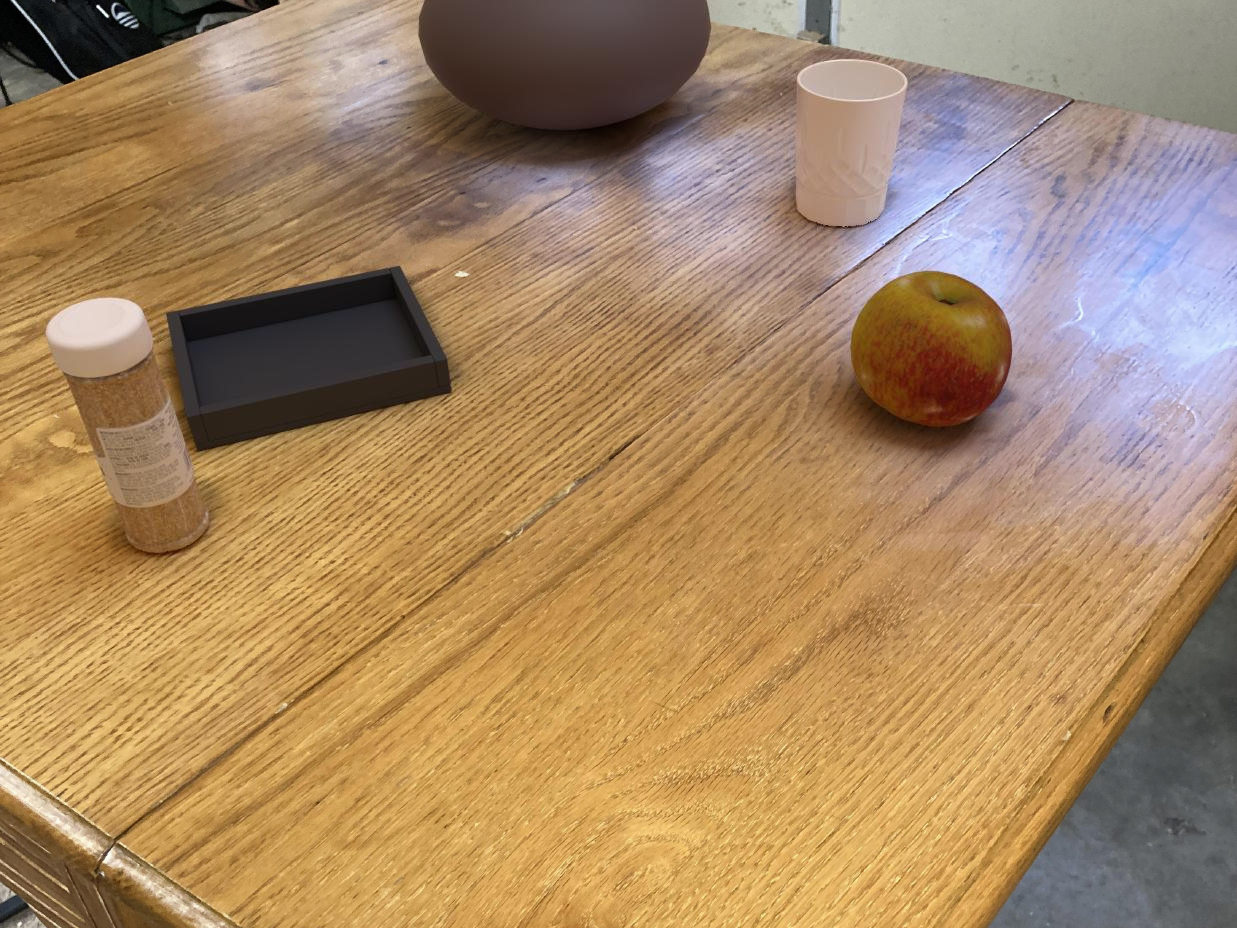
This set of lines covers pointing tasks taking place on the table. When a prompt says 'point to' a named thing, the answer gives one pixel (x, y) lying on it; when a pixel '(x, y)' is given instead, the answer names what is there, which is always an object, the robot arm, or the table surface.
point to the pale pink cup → (846, 139)
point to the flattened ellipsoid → (563, 56)
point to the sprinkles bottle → (129, 421)
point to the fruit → (932, 348)
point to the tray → (304, 356)
